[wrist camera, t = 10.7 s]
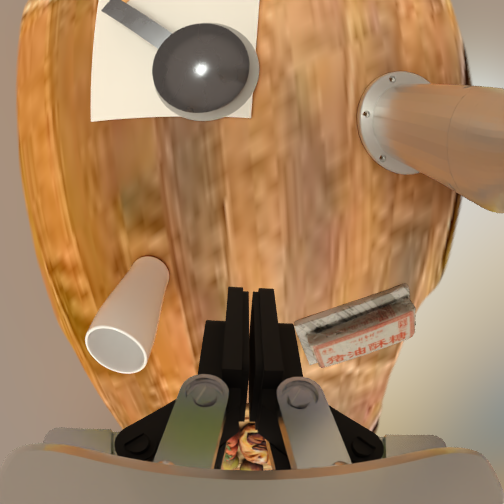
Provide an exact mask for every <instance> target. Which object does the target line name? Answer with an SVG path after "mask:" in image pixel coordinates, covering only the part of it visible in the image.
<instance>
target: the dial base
mask: <svg viewBox="0 0 504 504" xmlns="http://www.w3.org/2000/svg"><path fill="white" fill-rule="evenodd" d="M109 1H110V0H99V3H98V9H97V17H96V25H95V34H94V45H93V58H92V77H91V122H92V121H102V120H113V119H126V118H143V117H171V116H181V117H183V118H187V119H190V120H195V121H210V120H216V119H220V118H223V117H240V118H251V110H252V95H253V92H254V89H255V87H256V85H257V81H258V77H259V62H258V57H257V54H256V40H257V26H258V13H259V0H122V1H123V2H125V3H127V4H128V5H130V6H132V7H133V8H135V9H136V10H138V11H140V12H141V13H143V14H144V15H146V16H147V17H149V18H150V19H152V20H153V21H155V22H156V23H158V24H159V25H161V26H162V27H164V28H165V29H167V30H168V31H169V32H171V33H174V32H175V31H177V30H179V29H181V28H183V27H185V26H189V25H192V24H198V23H210V24H215V25H219V26H222V27H224V28H226V29H228V30H230V31H232V32H233V33H234V34H235V35H237V36H238V37H239V39H240V40H241V41H242V42H243V44H244V46H245V48H246V50H247V52H248V56H249V63H250V64H249V76H248V80H247V83H246V85H245V87H244V89H243V91H242V92H241V94H240V95H239V96H238V97H237V98H236V99H235V100H234V101H233V102H231V103H230V104H228V105H227V106H225V107H223V108H220V109H217V110H214V111H210V112H205V113H190V112H185V111H182V110H179V109H177V108H175V107H173V106H171V105H170V104H168V103H167V102H166V101H165V100H164V99H163V98H162V97H161V96H160V94H159V93H158V91H157V89H156V87H155V85H154V81H153V76H152V66H153V61H154V57H155V55H156V53H157V50H158V49H157V48H156V47H155V46H153V45H152V44H150V43H149V42H148V41H146V40H145V39H143V38H142V37H140V36H139V35H138V34H136V33H135V32H133V31H132V30H130V29H129V28H127V27H126V26H124V25H123V24H121V23H120V22H118V21H117V20H115V19H113V18H112V17H110V16H109V15H107V14H106V13H104V12H102V11H101V10H102V9H103V8H104V7H105V5H106V4H107V3H108V2H109Z"/></svg>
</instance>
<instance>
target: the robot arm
mask: <svg viewBox="0 0 504 504" xmlns="http://www.w3.org/2000/svg"><path fill="white" fill-rule="evenodd" d="M389 78H390V79H391V81H390V80H389ZM363 112H365V113H366V115H365V116H364V115H363ZM357 126H358V131H359V136H360V138H361V141H362V144H363V146H364V147H365V149H366V151H367V152H368V154H369V155H370V156H371V157H372V158H373V160H374V161H375V162H377V163H378V164H379V165H381V166H382V167H384V168H385V169H387V170H389V171H392V172H394V173H397V174H403V175H410V174H416V173H420V172H421V173H423V174H425V175H427V176H428V177H430V178H432V179H434V180H436V181H438V182H439V183H441V184H443V185H445V186H446V187H448V188H450V189H452V190H453V191H455V192H457V193H458V194H460V195H462V196H463V197H465V198H467V199H468V200H470V201H472V202H474V203H476V204H477V205H479V206H480V207H482V208H484V209H487V210H489V211H492V212H496V213H504V89H502V88H493V87H482V86H469V85H451V84H431V83H430V82H429V81H427V80H426V79H424V78H423V77H421V76H419V75H417V74H414V73H410V72H405V71H398V72H390V73H387V74H384V75H381V76H380V77H378V78H377V79H375V80H374V81H373V82H372V83H371V84H370V85H369V86H368V87H367V88H366V90H365V92H364V93H363V95H362V97H361V100H360V103H359V106H358V113H357ZM380 156H382V157H381V159H380ZM248 380H249V422H255V430H257V433H259V434H260V435H261V436H262V437H264V438H265V439H266V446H267V450H268V454H269V458H270V463H271V467H272V470H265V471H250V470H222V467H223V463H224V458H225V454H226V450H227V445H228V440H229V439H230V438H232V437H233V436H234V435H236V434H237V433H238V432H239V422H244V421H245V411H246V401H247V391H248ZM0 504H504V492H503V489H502V487H501V484H500V482H499V479H498V477H497V475H496V473H495V471H494V469H493V467H492V466H491V464H490V463H489V461H488V460H487V459H486V458H485V457H484V456H483V455H482V454H481V453H479V452H477V451H474V450H470V449H465V448H458V447H457V448H456V447H446V444H445V442H444V441H443V440H442V439H441V438H439V437H437V436H434V435H385V436H384V437H378V436H377V435H376V434H375V433H373V432H372V431H370V430H368V429H367V428H365V427H363V426H361V425H360V424H358V423H356V422H355V421H353V420H352V419H350V418H348V417H347V416H345V415H343V414H342V413H340V412H339V411H337V410H335V409H334V408H332V407H331V406H329V405H328V403H327V400H326V398H325V395H324V393H323V390H322V389H321V387H320V386H319V385H318V384H317V383H316V382H315V381H313V380H311V379H309V378H305V377H303V374H302V368H301V363H300V357H299V351H298V346H297V340H296V335H295V329H294V325H293V324H284V323H278V319H277V311H276V303H275V295H274V289H265V288H259V290H258V292H253V297H252V310H251V322H250V334H249V292H245V291H243V288H242V287H228V299H227V311H226V321H211V320H206V324H205V330H204V336H203V343H202V349H201V356H200V363H199V370H198V375H195V376H192V377H190V378H188V379H187V380H186V381H185V382H184V383H183V385H182V386H181V389H180V391H179V394H178V397H177V399H176V400H174V401H172V402H170V403H169V404H167V405H165V406H164V407H162V408H160V409H158V410H157V411H155V412H153V413H151V414H150V415H148V416H146V417H144V418H143V419H141V420H139V421H137V422H135V423H134V424H132V425H130V426H128V427H126V428H125V429H123V430H122V431H121V432H112V430H111V429H77V428H76V429H75V428H54V429H52V430H51V431H49V432H48V433H47V435H46V436H45V439H44V443H38V444H29V445H24V446H21V447H18V448H16V449H14V450H13V451H12V452H11V453H10V454H9V455H8V456H7V457H6V459H5V460H4V462H3V463H2V465H1V467H0Z"/></svg>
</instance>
